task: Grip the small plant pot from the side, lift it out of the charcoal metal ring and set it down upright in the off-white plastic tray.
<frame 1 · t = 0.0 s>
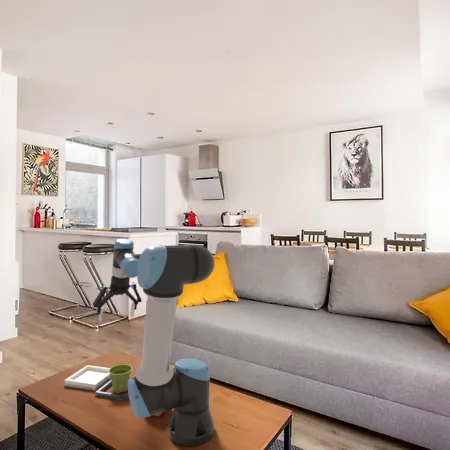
hand: (116, 317, 145), 28 cm above the table, tool tilted 20°, fingers open, 13 cm apart
pot ring: (120, 389, 137), on the table
plant pot: (120, 390, 137), resting in pot ring
pink boxy piece: (155, 411, 122), on the table
tray: (91, 379, 145), on the table
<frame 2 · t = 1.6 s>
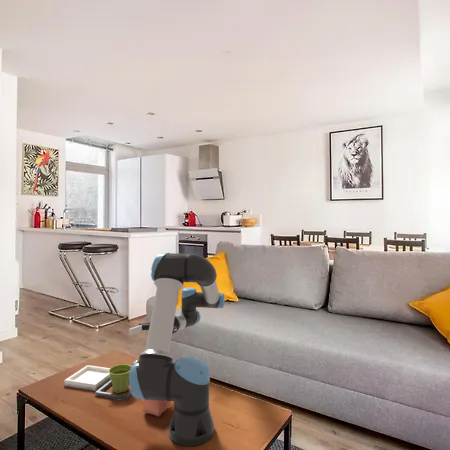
hand: (138, 335, 144), 20 cm above the table, tool horizontal, fingers open, 13 cm apart
nothing on the table moved.
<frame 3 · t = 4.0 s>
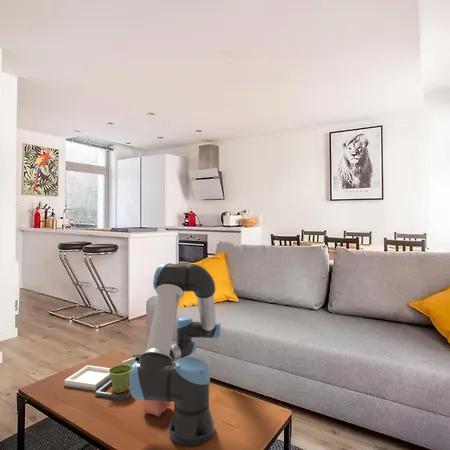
hand: (131, 369, 142), 6 cm above the table, tool horizontal, fingers open, 13 cm apart
nothing on the table moved.
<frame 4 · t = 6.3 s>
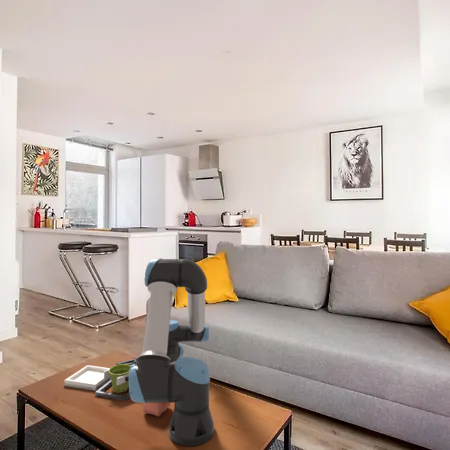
hand: (110, 378, 133), 7 cm above the table, tool horizontal, fingers closed on plant pot, 9 cm apart
plant pot: (120, 390, 137), resting in pot ring, touching gripper
everything else where it was.
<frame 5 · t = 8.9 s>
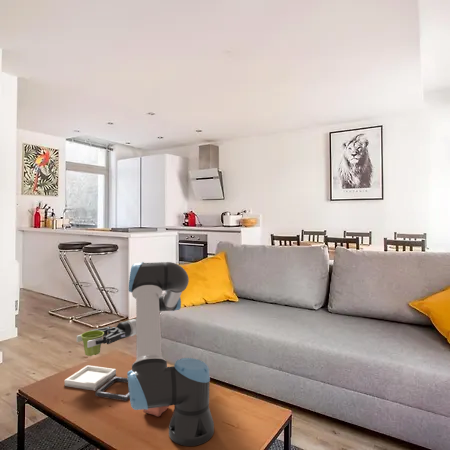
hand: (82, 341, 142), 18 cm above the table, tool horizontal, fingers closed on plant pot, 9 cm apart
plant pot: (92, 353, 145), point 11 cm above the table, touching gripper
everything else where it was.
when the fingers open (9 cm above the table, at t = 11.5 s): plant pot drops 1 cm, resting on tray.
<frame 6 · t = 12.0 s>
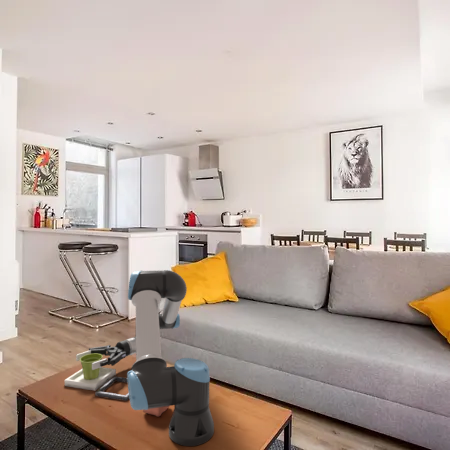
hand: (84, 362, 142), 9 cm above the table, tool horizontal, fingers open, 13 cm apart
plant pot: (91, 377, 146), point 1 cm above the table, touching tray
everything else where it was.
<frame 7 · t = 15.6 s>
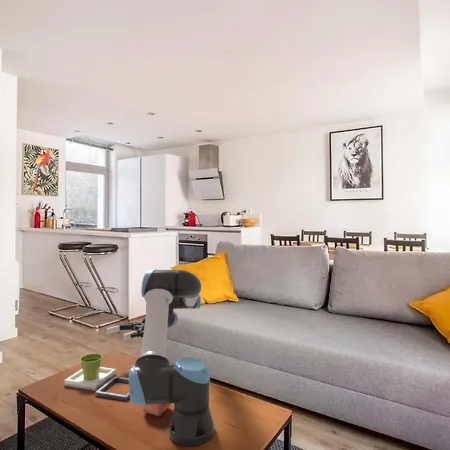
hand: (115, 334, 152), 18 cm above the table, tool horizontal, fingers open, 13 cm apart
nothing on the table moved.
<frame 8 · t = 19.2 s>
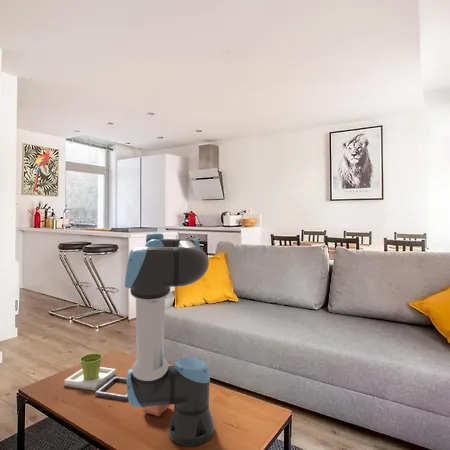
hand: (153, 316, 144), 29 cm above the table, tool pointing down, fingers open, 13 cm apart
nothing on the table moved.
at the end: plant pot inside the target area on the tray (0.7 cm from its centre), point 0.8 cm above the tray's base; plant pot tilted 0°; the gripper is holding nothing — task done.
